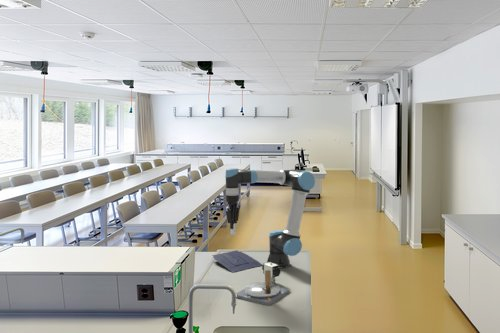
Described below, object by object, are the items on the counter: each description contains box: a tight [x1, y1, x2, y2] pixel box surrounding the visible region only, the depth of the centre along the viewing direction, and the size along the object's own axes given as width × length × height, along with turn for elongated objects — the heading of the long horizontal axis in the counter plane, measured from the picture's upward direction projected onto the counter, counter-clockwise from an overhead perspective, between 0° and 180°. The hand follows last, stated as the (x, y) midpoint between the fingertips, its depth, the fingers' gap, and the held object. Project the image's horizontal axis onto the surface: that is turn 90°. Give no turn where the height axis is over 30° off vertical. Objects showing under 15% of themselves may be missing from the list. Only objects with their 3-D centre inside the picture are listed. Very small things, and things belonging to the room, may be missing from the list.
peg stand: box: [244, 270, 281, 298], centre depth 238 cm, size 19×19×14 cm
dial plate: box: [235, 282, 291, 306], centre depth 239 cm, size 22×22×2 cm
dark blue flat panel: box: [211, 250, 263, 273], centre depth 295 cm, size 24×30×4 cm
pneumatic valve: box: [261, 261, 281, 284], centre depth 257 cm, size 6×12×12 cm, turn 37°
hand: (233, 234), depth 259 cm, fingers closed
